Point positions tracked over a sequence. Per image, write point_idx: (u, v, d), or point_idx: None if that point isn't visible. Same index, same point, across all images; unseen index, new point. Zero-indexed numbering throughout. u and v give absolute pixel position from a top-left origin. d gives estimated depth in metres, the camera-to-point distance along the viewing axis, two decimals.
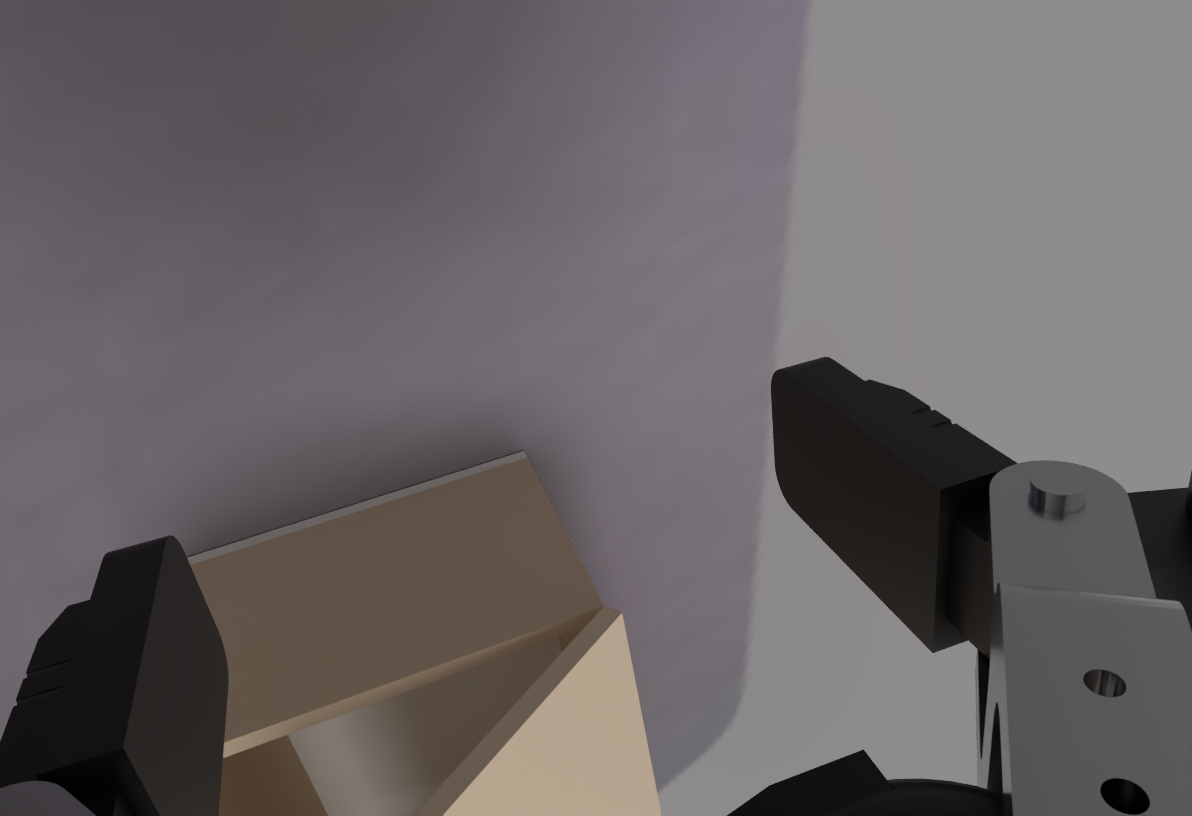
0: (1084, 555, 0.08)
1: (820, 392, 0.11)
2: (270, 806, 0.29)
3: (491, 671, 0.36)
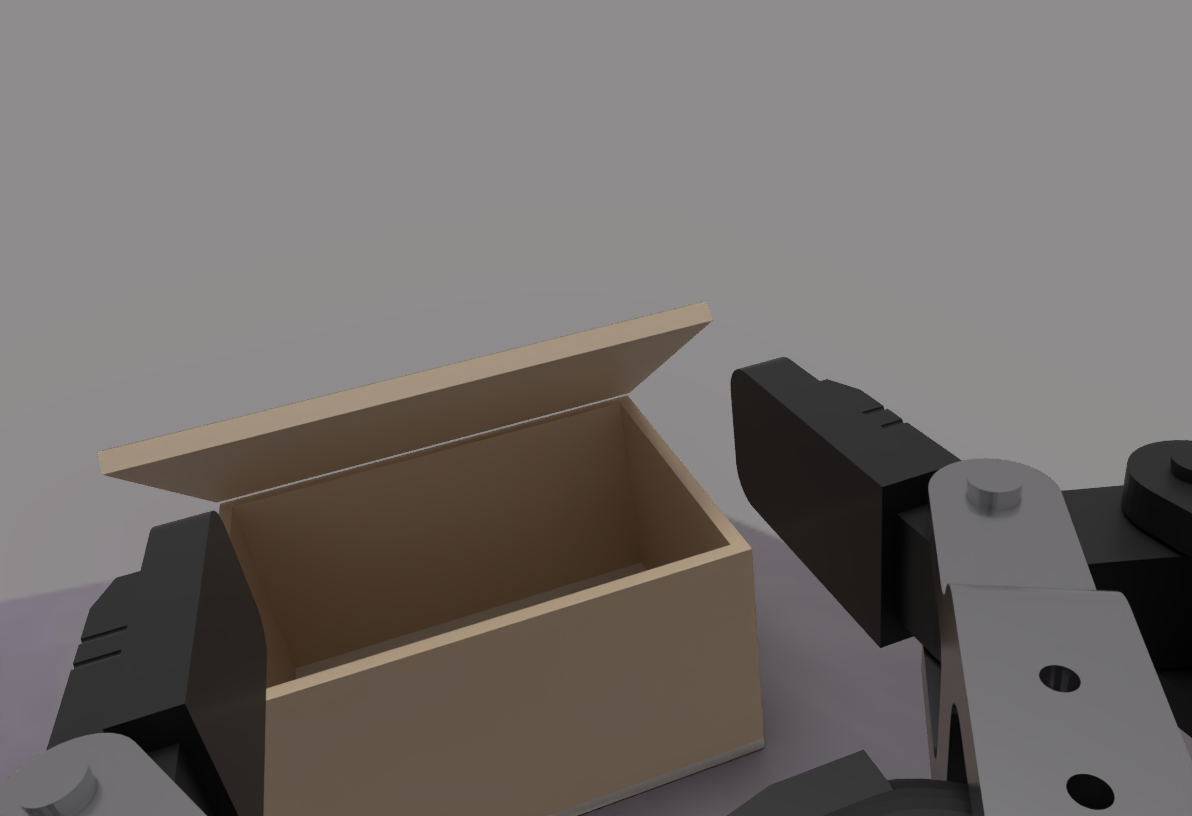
0: (1013, 550, 0.08)
1: (775, 391, 0.11)
2: None
3: None
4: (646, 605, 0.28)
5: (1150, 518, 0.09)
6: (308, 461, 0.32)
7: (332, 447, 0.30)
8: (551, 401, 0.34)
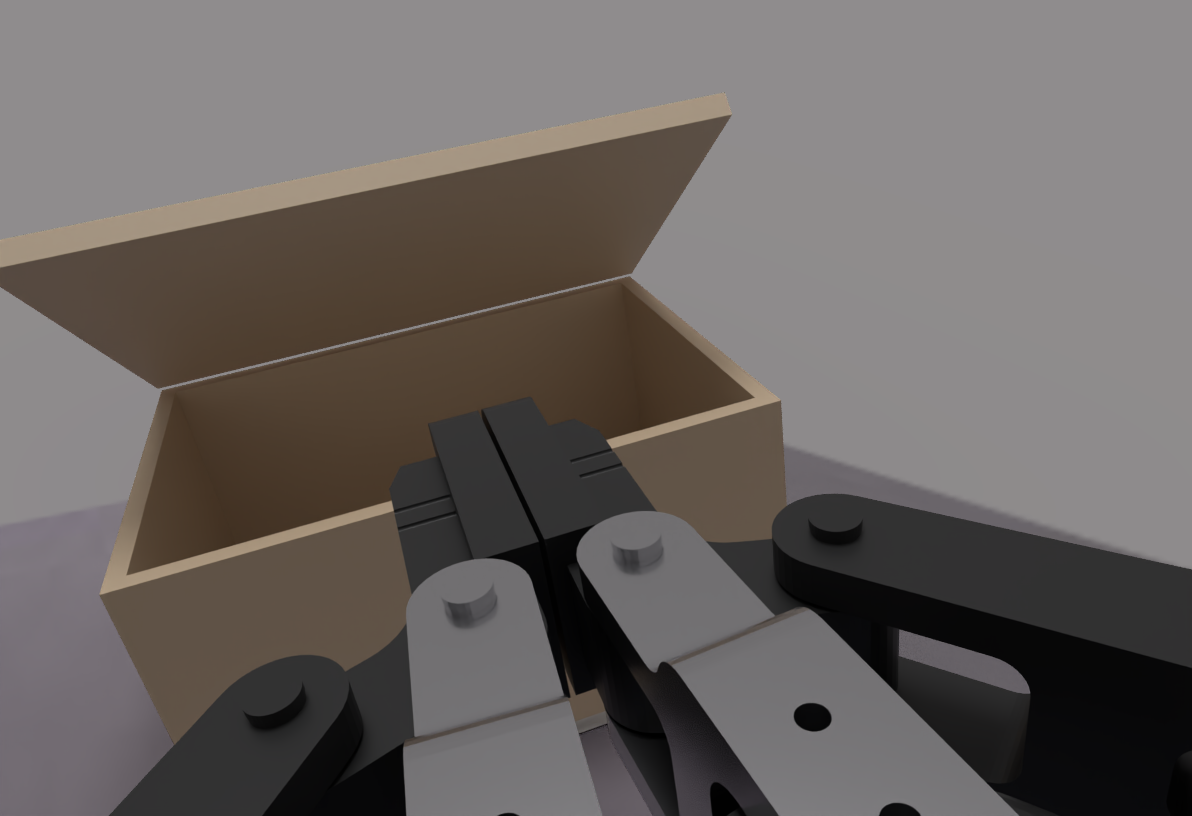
0: (620, 612, 0.08)
1: (501, 434, 0.11)
2: None
3: None
4: (655, 467, 0.23)
5: (816, 591, 0.08)
6: (257, 321, 0.27)
7: (282, 295, 0.25)
8: (542, 264, 0.30)
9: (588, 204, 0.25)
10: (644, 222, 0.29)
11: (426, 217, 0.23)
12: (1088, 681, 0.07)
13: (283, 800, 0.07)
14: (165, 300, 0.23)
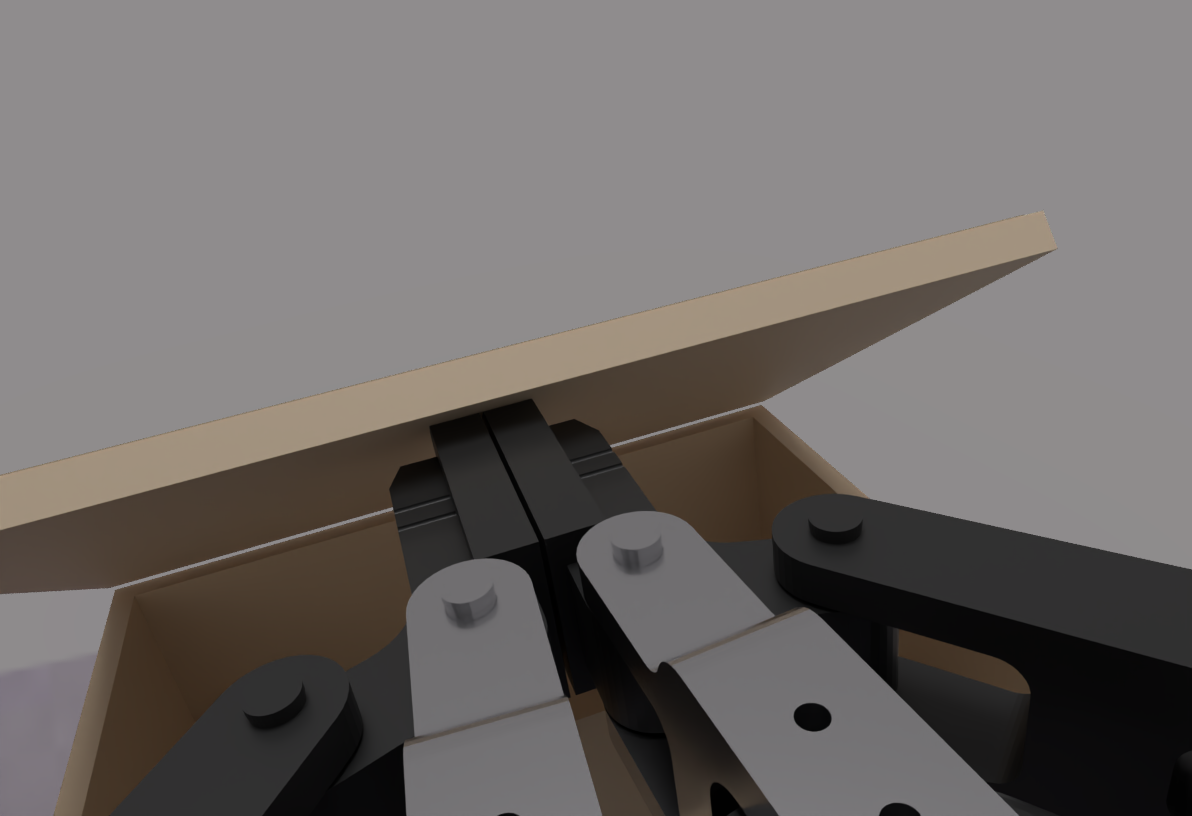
0: (620, 612, 0.08)
1: (501, 434, 0.11)
2: None
3: None
4: None
5: (816, 590, 0.08)
6: (250, 527, 0.18)
7: (289, 506, 0.16)
8: (663, 416, 0.21)
9: (768, 362, 0.16)
10: (822, 363, 0.19)
11: None
12: (1088, 681, 0.07)
13: (284, 800, 0.07)
14: (97, 548, 0.14)
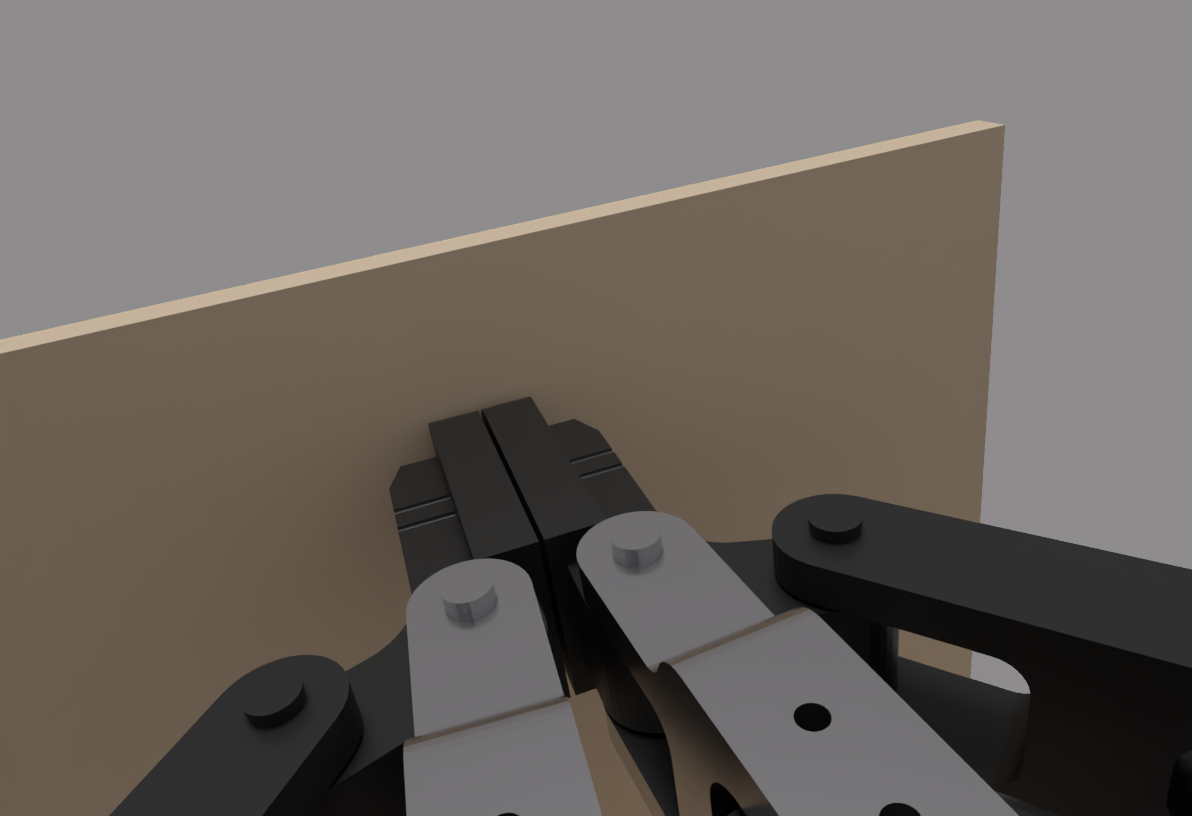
0: (620, 611, 0.08)
1: (501, 434, 0.11)
2: None
3: None
4: None
5: (816, 591, 0.08)
6: None
7: None
8: None
9: (827, 414, 0.14)
10: (945, 512, 0.16)
11: (533, 398, 0.13)
12: (1088, 681, 0.07)
13: (284, 800, 0.07)
14: (61, 647, 0.12)
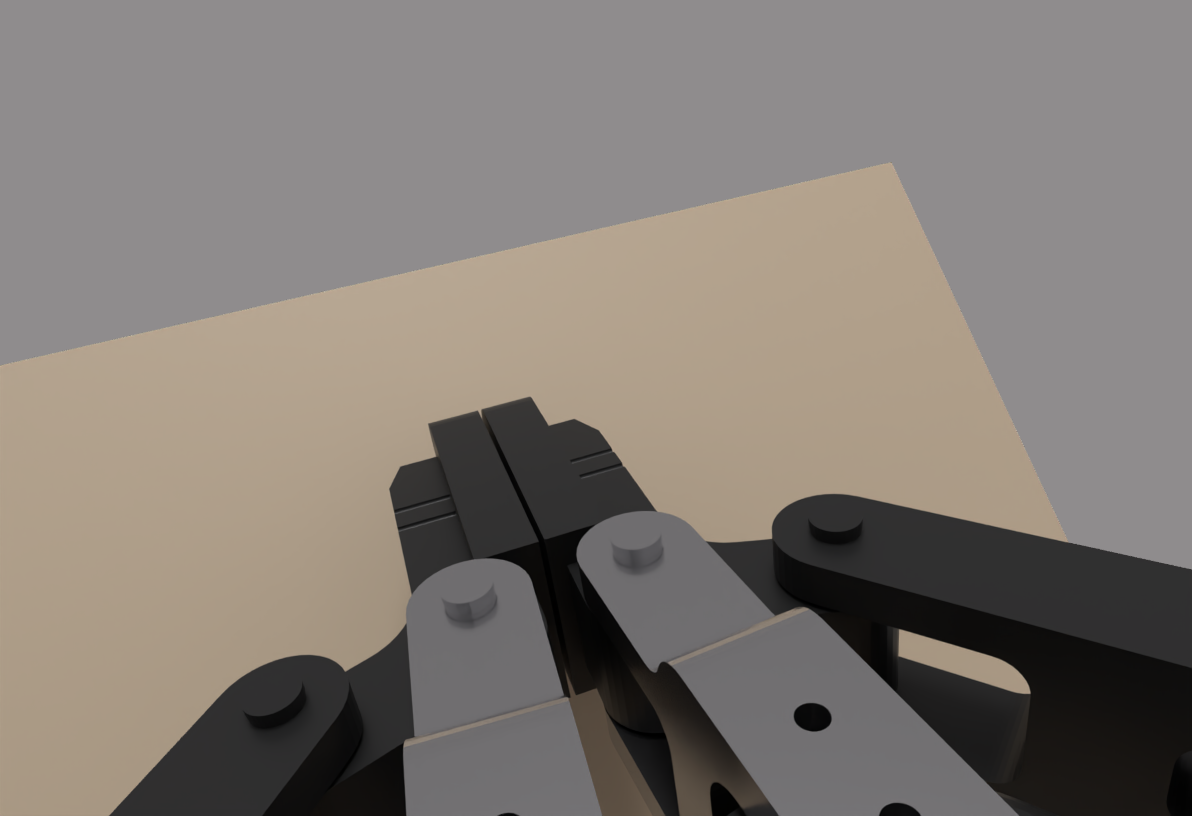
0: (620, 612, 0.08)
1: (501, 434, 0.11)
2: None
3: None
4: None
5: (816, 591, 0.08)
6: None
7: None
8: None
9: (820, 406, 0.15)
10: (1012, 522, 0.14)
11: (517, 386, 0.14)
12: (1088, 681, 0.07)
13: (284, 800, 0.07)
14: (66, 629, 0.12)
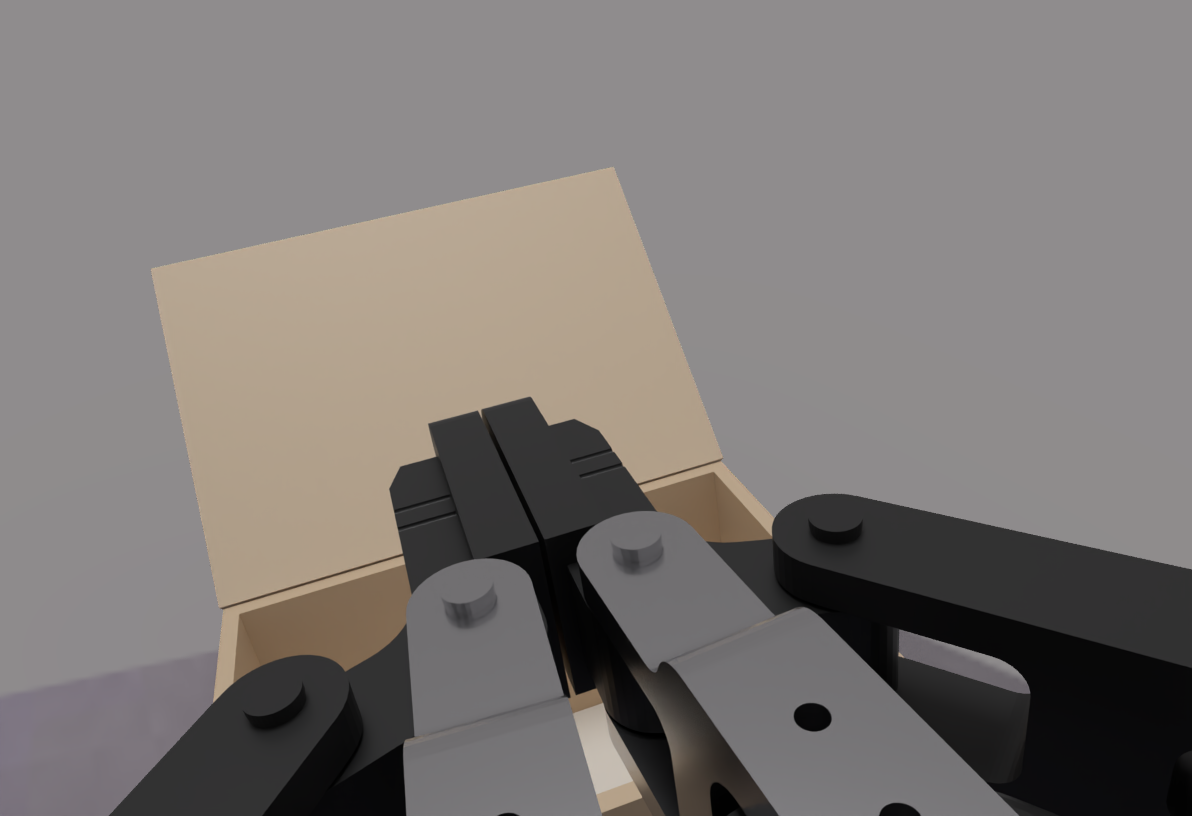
0: (620, 612, 0.08)
1: (501, 434, 0.11)
2: None
3: None
4: None
5: (816, 591, 0.08)
6: (321, 435, 0.30)
7: (339, 377, 0.31)
8: (584, 392, 0.32)
9: (568, 274, 0.33)
10: (651, 323, 0.33)
11: (433, 264, 0.33)
12: (1088, 681, 0.07)
13: (284, 800, 0.07)
14: (250, 354, 0.31)
